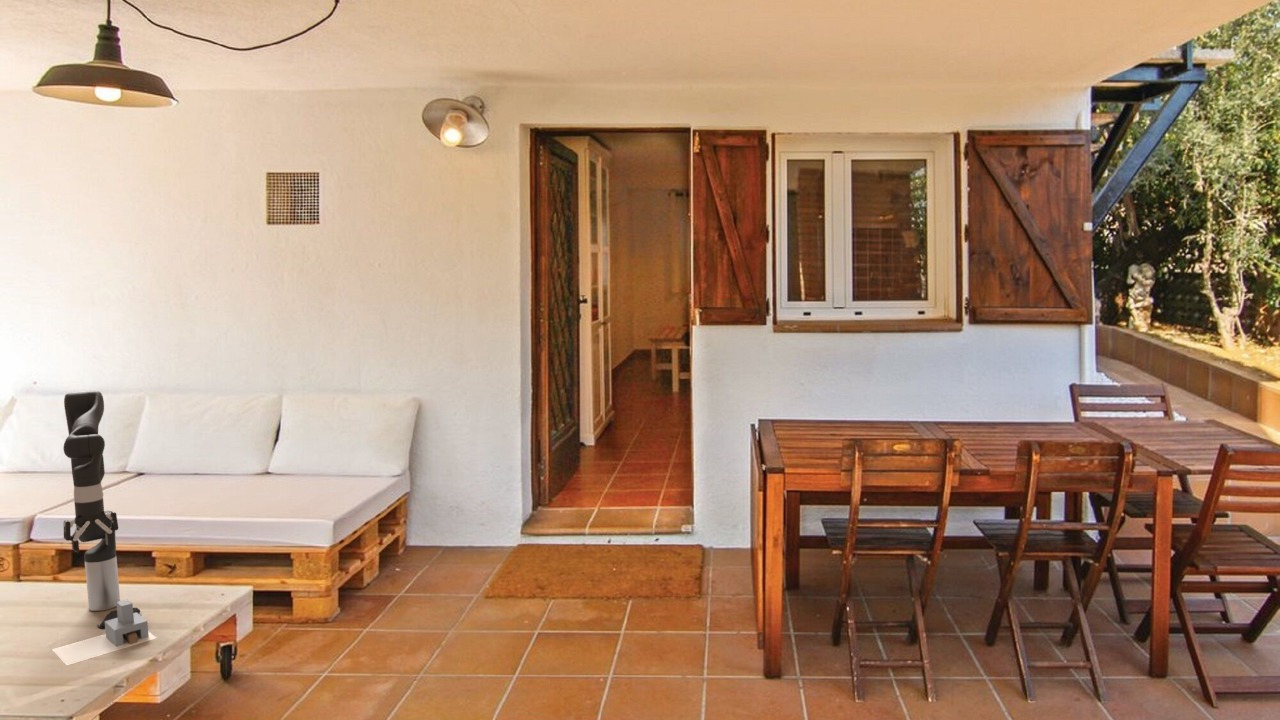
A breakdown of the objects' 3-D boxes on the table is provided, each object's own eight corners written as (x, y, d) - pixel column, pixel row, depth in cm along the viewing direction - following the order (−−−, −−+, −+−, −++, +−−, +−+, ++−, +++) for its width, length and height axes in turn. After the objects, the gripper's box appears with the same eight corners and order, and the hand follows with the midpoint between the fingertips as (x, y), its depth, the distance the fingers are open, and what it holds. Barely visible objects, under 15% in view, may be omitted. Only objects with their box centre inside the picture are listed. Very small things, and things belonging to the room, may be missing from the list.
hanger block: (105, 637, 262) (102, 602, 261) (137, 627, 268) (135, 594, 267) (116, 646, 255) (113, 611, 254) (148, 636, 262) (145, 602, 260)
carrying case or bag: (105, 618, 281) (93, 636, 267) (104, 609, 280) (93, 627, 267) (141, 613, 284) (132, 630, 271) (141, 605, 284) (131, 621, 270)
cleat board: (52, 654, 254) (51, 641, 254) (140, 628, 272) (139, 616, 271) (66, 670, 243) (65, 657, 243) (157, 642, 261) (156, 630, 260)
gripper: (110, 491, 268) (114, 539, 270) (58, 500, 258) (62, 551, 260) (118, 495, 263) (122, 545, 265) (65, 505, 253) (69, 557, 255)
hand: (92, 548), depth 263 cm, fingers open, 8 cm apart
